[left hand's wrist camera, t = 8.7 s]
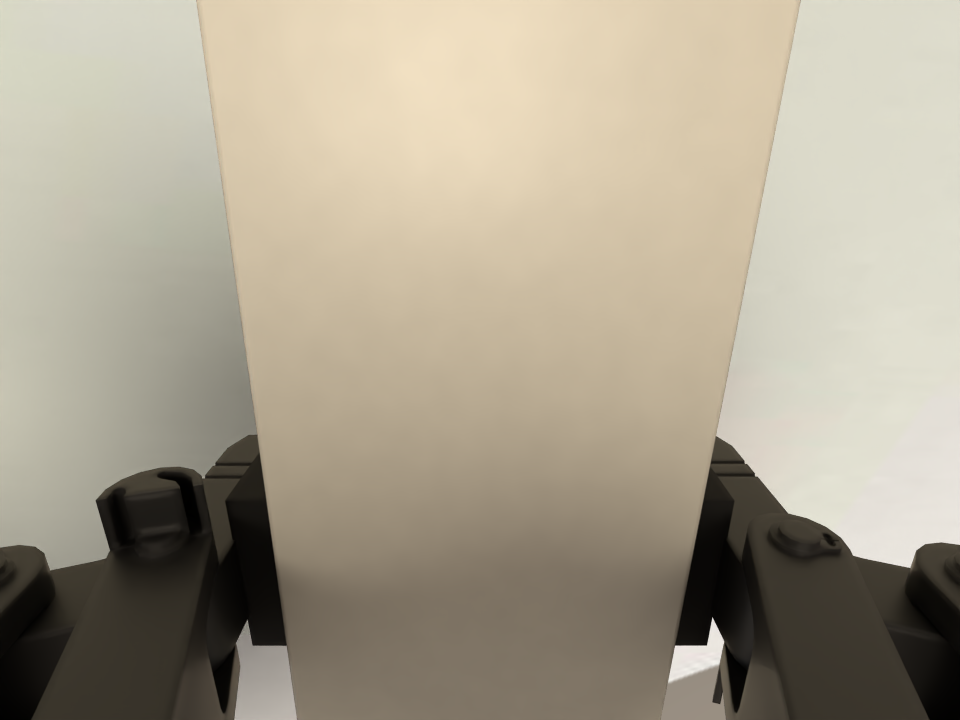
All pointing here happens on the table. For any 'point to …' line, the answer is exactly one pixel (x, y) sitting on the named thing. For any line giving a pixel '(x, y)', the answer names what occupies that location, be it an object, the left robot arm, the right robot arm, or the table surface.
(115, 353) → the table surface
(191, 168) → the table surface
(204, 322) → the table surface
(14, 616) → the left robot arm
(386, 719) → the bar
